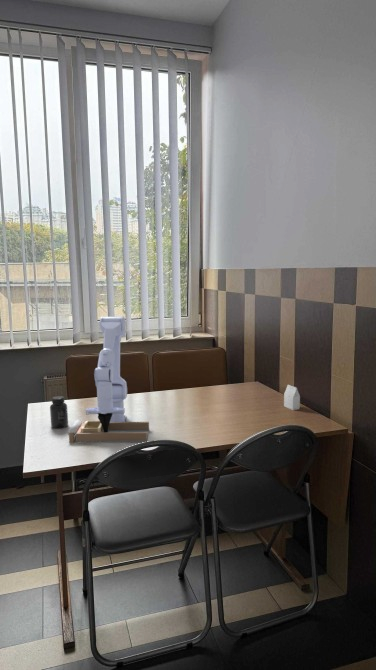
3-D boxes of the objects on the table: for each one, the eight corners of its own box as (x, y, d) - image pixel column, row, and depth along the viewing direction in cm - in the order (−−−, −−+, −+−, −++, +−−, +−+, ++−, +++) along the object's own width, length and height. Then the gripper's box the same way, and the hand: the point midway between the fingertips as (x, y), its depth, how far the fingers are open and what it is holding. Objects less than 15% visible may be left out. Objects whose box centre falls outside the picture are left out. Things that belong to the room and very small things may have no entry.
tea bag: (292, 410, 215) (293, 388, 214) (283, 406, 221) (284, 385, 220) (299, 409, 217) (300, 387, 215) (290, 405, 223) (291, 384, 221)
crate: (86, 430, 189) (85, 420, 188) (104, 430, 189) (103, 420, 188) (81, 438, 180) (81, 428, 179) (100, 438, 180) (99, 428, 179)
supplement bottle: (69, 423, 200) (68, 395, 198) (66, 428, 193) (64, 399, 191) (53, 423, 200) (51, 395, 198) (49, 428, 193) (47, 400, 191)
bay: (75, 430, 191) (74, 418, 190) (149, 429, 191) (148, 417, 190) (67, 442, 178) (66, 430, 177) (146, 441, 178) (146, 429, 177)
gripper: (83, 400, 178) (85, 435, 180) (122, 400, 178) (123, 435, 180) (87, 395, 185) (88, 429, 187) (124, 395, 185) (125, 429, 187)
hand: (106, 432), depth 184 cm, fingers closed
